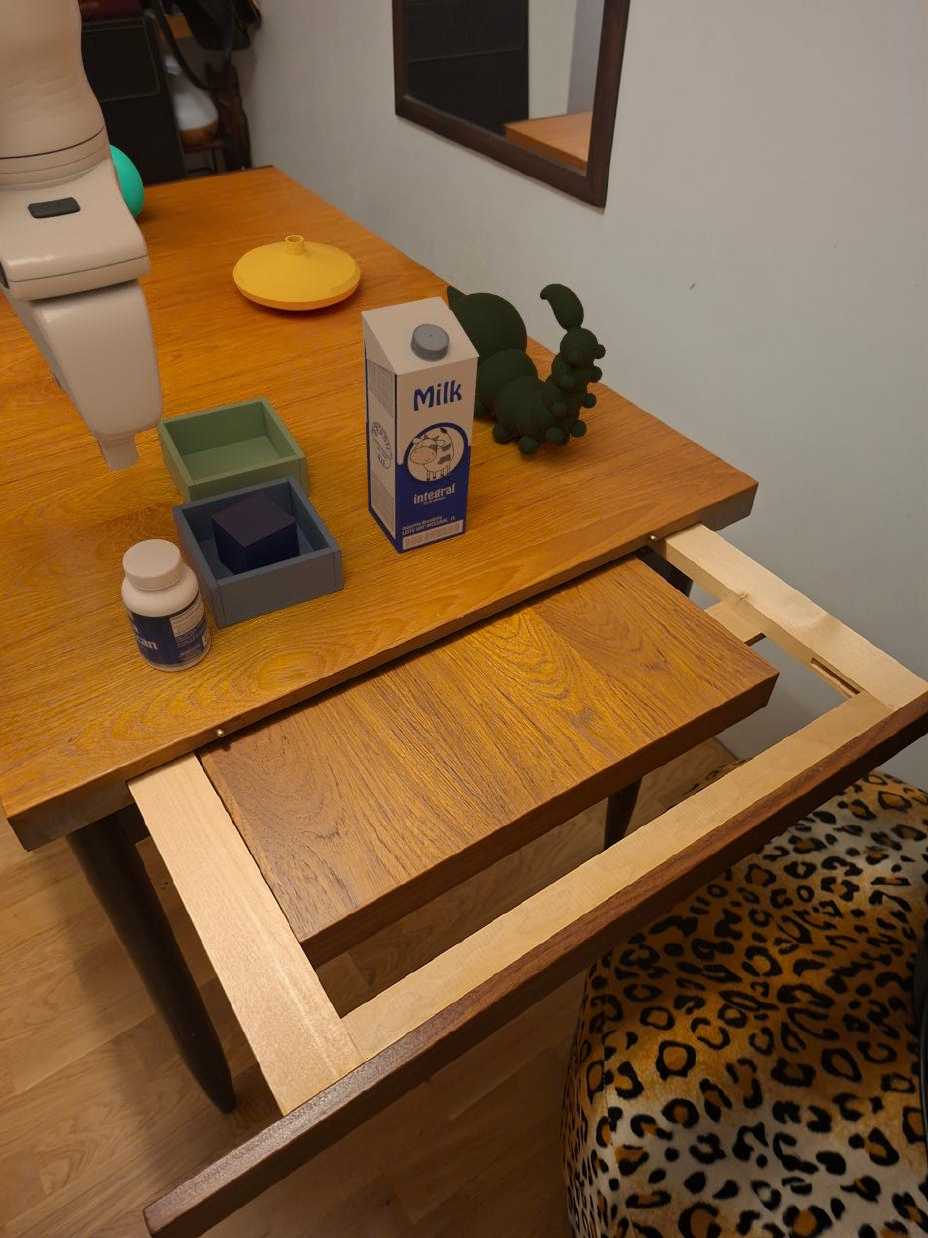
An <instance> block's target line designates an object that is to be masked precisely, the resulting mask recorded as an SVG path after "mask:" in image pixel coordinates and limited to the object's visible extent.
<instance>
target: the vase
mask: <svg viewBox="0 0 928 1238" xmlns="http://www.w3.org/2000/svg"><path fill="white" fill-rule="evenodd" d="M284 240H285V241H277V242H274V243H268V244H263V245H261V246H258V247H254V248H252V249H251V250H249V251H248V252H246V253H244V254H243V255H242V256H241V257H240V258H239V260H237V262H236V263H235V265H234V268H233V270H232V273H231V274H232V277H233V281H234V283H235V285H236V288H237V289H238V291H239V292H240V293H241V294H242V295H243V296H244V297H245V298H246V299H248V300H250V301H252V302H254V303H257V304H259V305H262V306H266V307H267V308H268V307H269V308H273V309H277V310H284V311H295V312H302V311H313V310H317V309H322V308H326V307H329V306H332V305H334V304H337V303H339V302H342V301H345V300H346V299H347V298H348V297H350V296H351V295H353V294H354V293H355V291H356V290H357V288H359V287H358V286H359V283H360V280H361V276H362V275H361V273H362V270H361V268H360V265H359V264H358V262H357V261H356V260H355V259H354V258H353V257H352V256H351V255H350V254H349V253H348V252H346V251H344V250H343V249H341V248H338V247H337V246H333V245H329V244H326V243H322V242H315V241H309V240H308V241H306V240H305V239H304V237H303V236H301V235H297V234H292V235H291V234H290V235H287V236H286V237H285V239H284Z"/></svg>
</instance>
